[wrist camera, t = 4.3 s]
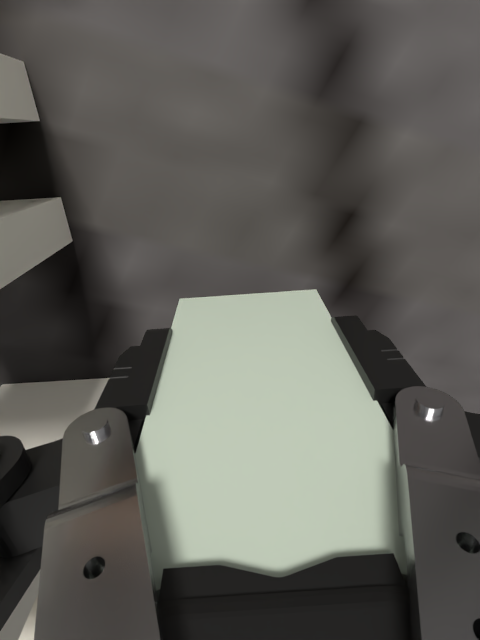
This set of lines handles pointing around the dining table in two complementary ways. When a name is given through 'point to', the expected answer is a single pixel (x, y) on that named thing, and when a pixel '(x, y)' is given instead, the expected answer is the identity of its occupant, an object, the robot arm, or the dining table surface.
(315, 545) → the domino
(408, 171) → the dining table surface
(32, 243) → the domino
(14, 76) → the domino end
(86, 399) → the domino
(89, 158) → the dining table surface
